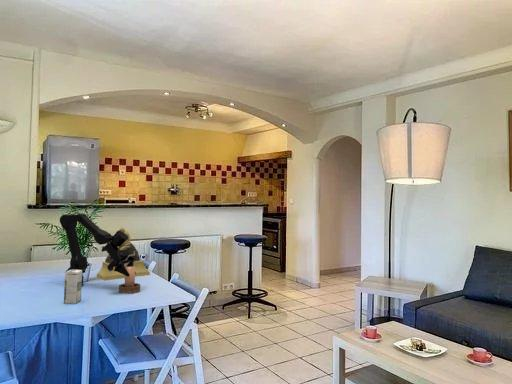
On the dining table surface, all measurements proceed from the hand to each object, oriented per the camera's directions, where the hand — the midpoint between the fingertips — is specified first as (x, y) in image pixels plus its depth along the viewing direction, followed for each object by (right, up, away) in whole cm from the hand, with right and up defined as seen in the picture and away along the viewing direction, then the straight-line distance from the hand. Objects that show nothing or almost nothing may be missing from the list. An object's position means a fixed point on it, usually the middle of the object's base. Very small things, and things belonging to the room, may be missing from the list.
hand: (132, 275), depth 198 cm
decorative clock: (-17, -9, +37) cm, 41 cm away
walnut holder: (-1, -8, 0) cm, 9 cm away
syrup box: (-21, -8, -21) cm, 31 cm away
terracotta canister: (-2, -7, 0) cm, 7 cm away
